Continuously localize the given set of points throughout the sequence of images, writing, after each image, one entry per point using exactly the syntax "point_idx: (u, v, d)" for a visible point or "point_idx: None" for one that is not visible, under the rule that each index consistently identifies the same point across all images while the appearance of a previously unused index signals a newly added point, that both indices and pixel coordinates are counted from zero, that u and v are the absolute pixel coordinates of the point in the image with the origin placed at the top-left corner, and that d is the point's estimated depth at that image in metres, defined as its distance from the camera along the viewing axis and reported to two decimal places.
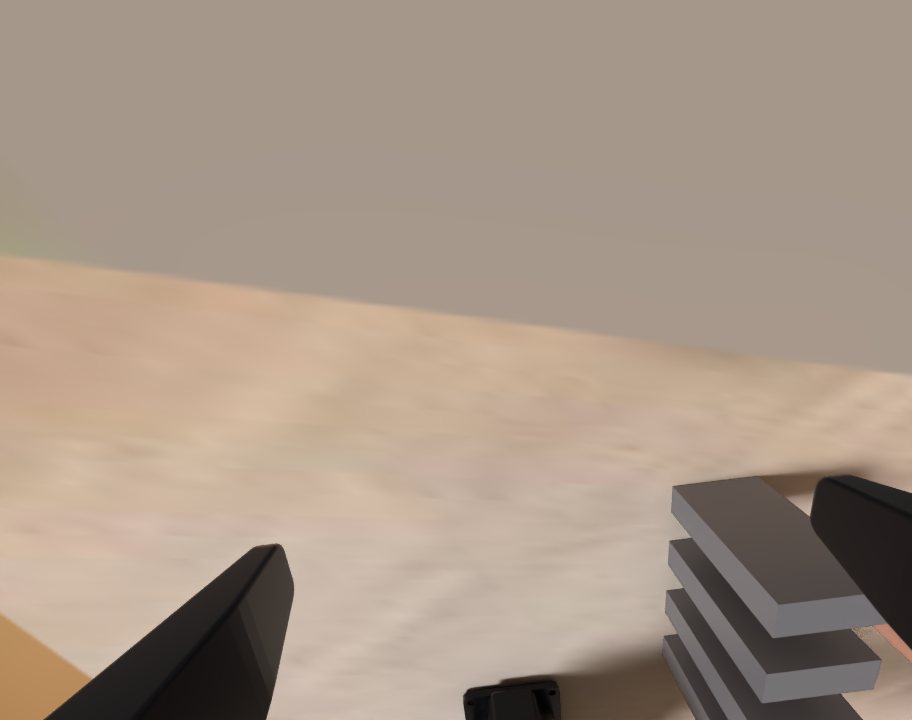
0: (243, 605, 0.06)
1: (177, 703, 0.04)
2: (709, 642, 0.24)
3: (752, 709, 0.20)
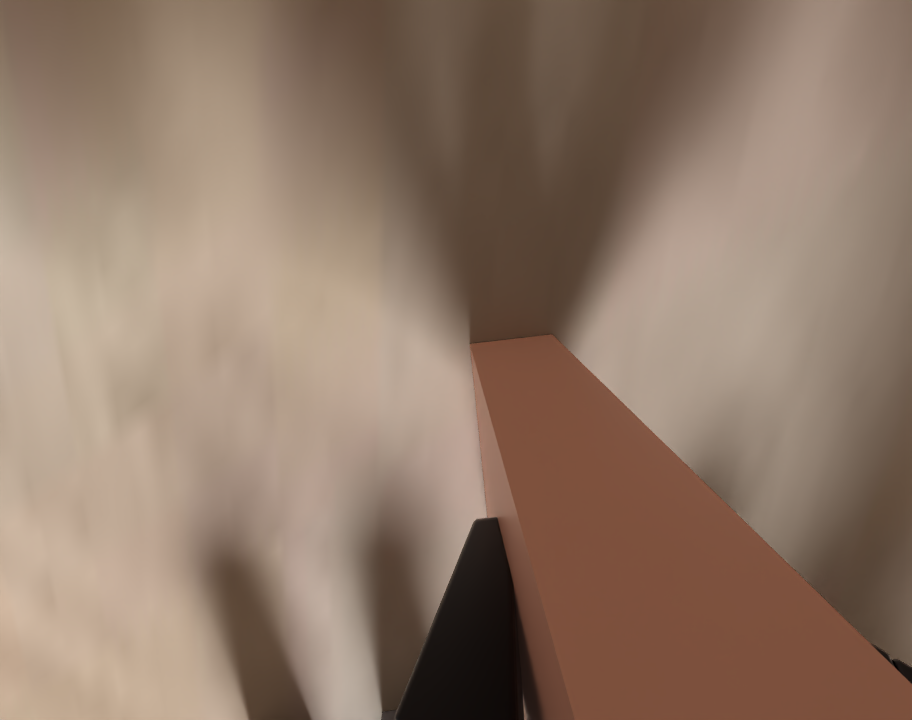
0: None
1: (517, 660, 0.04)
2: None
3: None
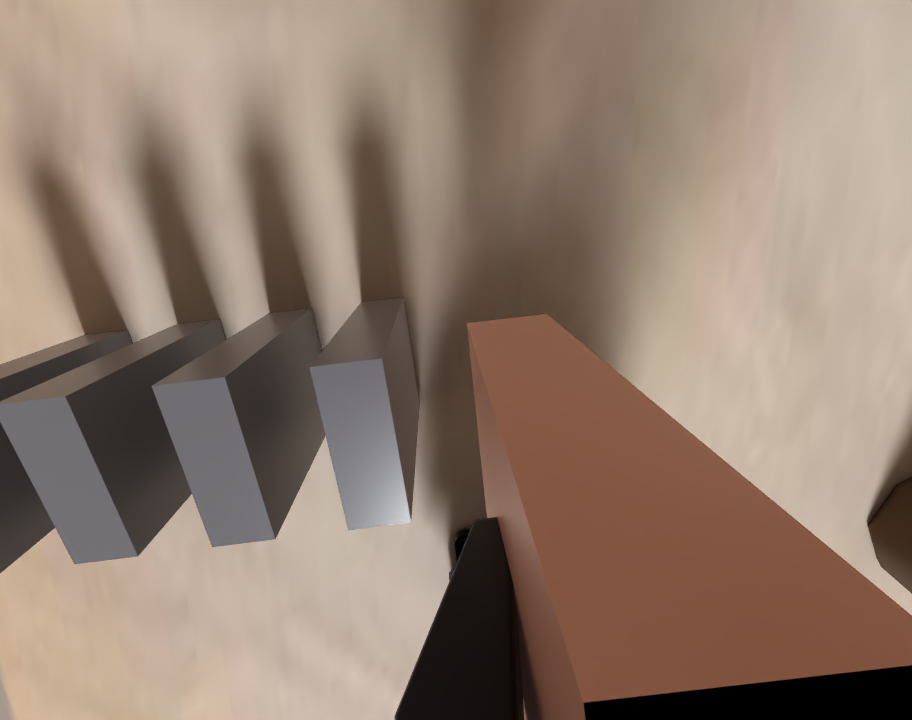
0: None
1: (517, 660, 0.04)
2: None
3: None
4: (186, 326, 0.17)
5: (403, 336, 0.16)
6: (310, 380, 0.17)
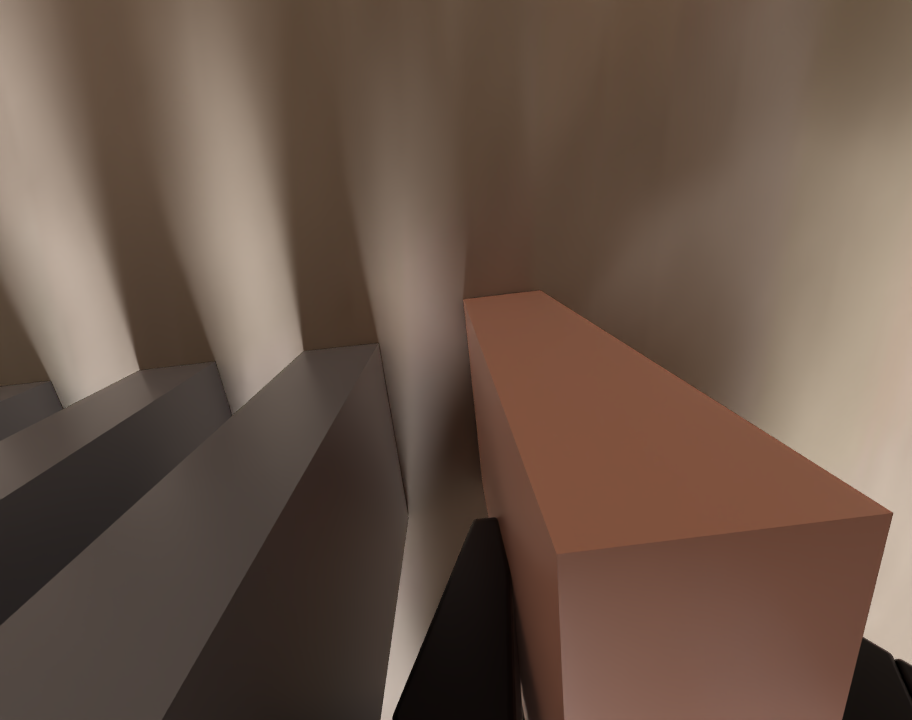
0: None
1: (516, 661, 0.04)
2: None
3: None
4: None
5: (367, 430, 0.08)
6: None
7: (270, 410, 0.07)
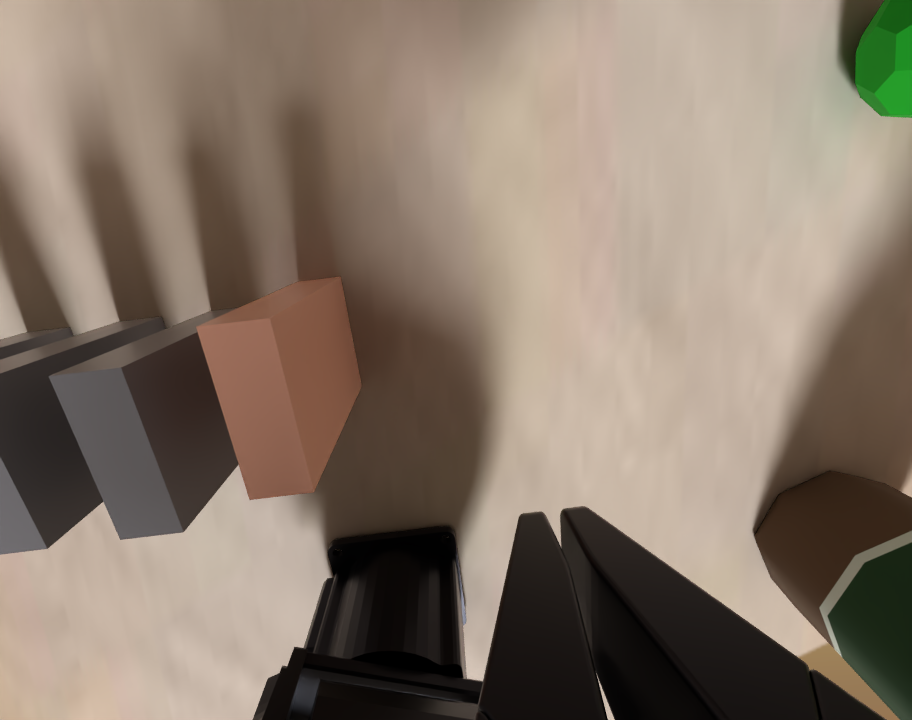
0: None
1: None
2: None
3: None
4: (29, 334, 0.17)
5: None
6: None
7: (178, 328, 0.15)
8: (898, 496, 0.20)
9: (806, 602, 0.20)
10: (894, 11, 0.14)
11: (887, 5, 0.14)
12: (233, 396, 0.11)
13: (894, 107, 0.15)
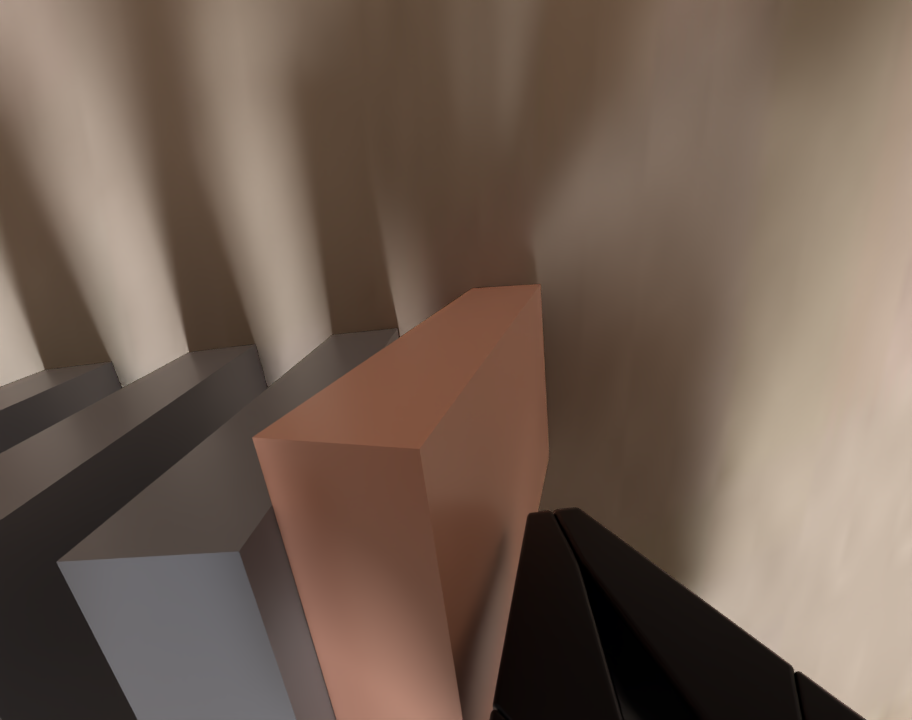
0: None
1: None
2: None
3: None
4: (49, 376, 0.11)
5: None
6: None
7: (305, 378, 0.08)
8: None
9: None
10: None
11: None
12: (326, 592, 0.05)
13: None
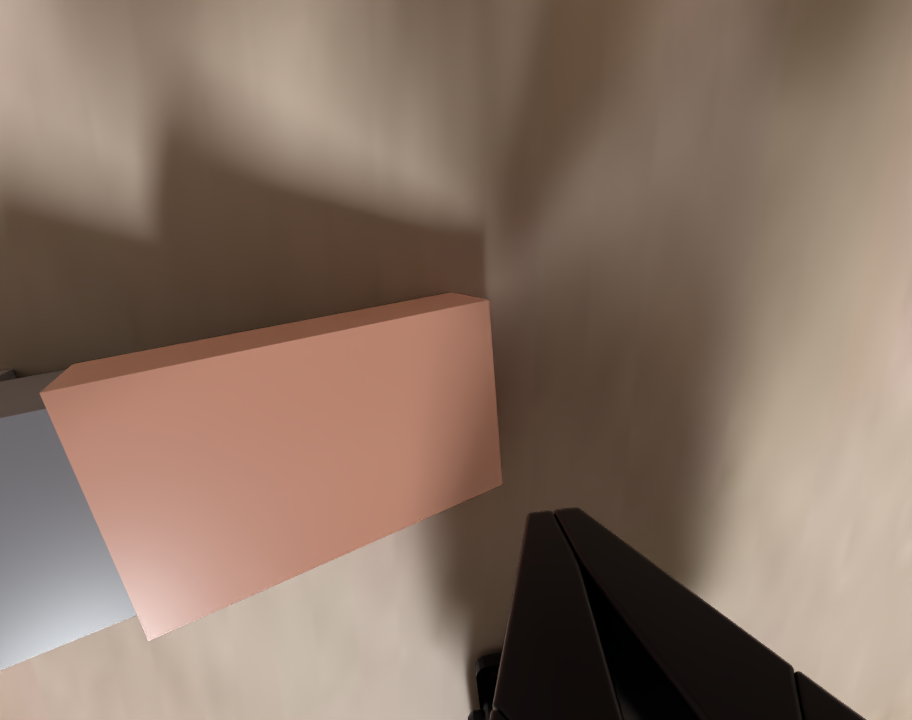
0: None
1: None
2: None
3: None
4: None
5: None
6: None
7: None
8: None
9: None
10: None
11: None
12: None
13: None
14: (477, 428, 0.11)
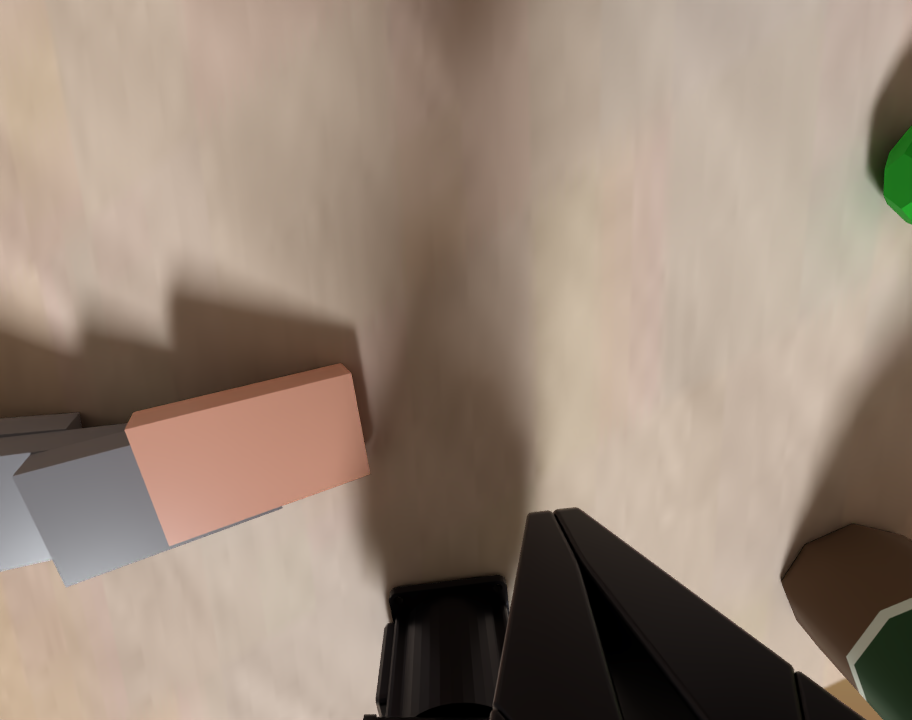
0: None
1: None
2: None
3: None
4: (49, 421, 0.19)
5: None
6: None
7: None
8: None
9: (833, 649, 0.22)
10: None
11: None
12: None
13: None
14: (350, 442, 0.19)
